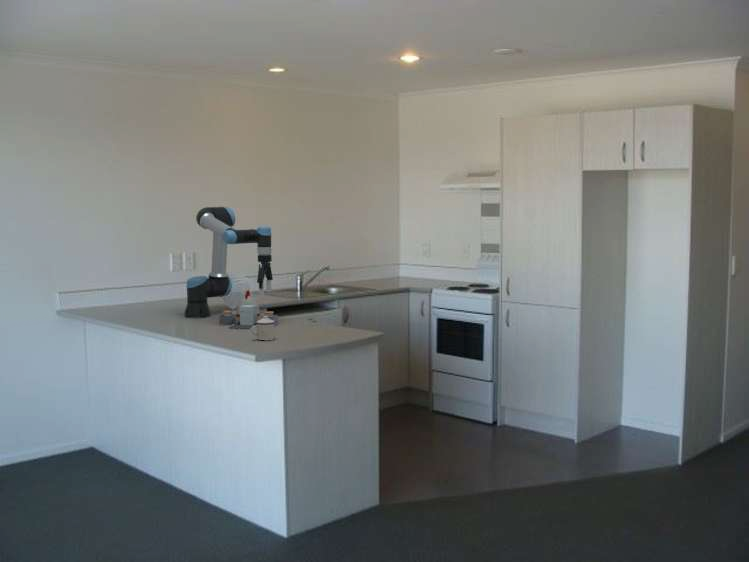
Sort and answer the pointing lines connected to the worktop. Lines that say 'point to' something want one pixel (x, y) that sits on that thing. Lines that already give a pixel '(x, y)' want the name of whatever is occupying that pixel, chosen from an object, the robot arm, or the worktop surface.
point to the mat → (242, 326)
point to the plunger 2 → (269, 314)
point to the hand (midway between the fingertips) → (265, 293)
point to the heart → (236, 290)
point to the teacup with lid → (265, 329)
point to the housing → (232, 320)
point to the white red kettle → (247, 303)
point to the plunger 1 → (227, 313)
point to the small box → (248, 314)
